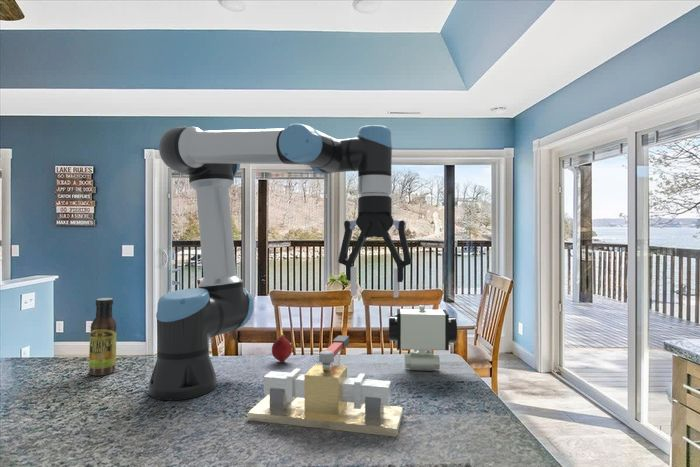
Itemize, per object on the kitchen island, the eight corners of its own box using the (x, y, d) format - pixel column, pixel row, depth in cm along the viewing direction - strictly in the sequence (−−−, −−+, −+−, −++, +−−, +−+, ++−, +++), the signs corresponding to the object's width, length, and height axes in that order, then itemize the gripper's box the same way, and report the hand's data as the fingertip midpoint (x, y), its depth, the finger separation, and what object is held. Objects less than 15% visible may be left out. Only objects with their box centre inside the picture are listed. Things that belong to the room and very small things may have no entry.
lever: (331, 364, 84) (331, 355, 84) (317, 362, 85) (317, 354, 85) (349, 343, 100) (350, 335, 100) (337, 342, 100) (337, 335, 100)
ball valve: (452, 365, 120) (452, 302, 119) (457, 375, 111) (457, 308, 111) (389, 363, 121) (389, 301, 121) (388, 373, 113) (388, 307, 113)
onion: (282, 366, 118) (282, 338, 118) (267, 363, 122) (267, 335, 122) (295, 361, 123) (295, 333, 123) (281, 358, 126) (281, 331, 126)
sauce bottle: (85, 377, 109) (85, 301, 109) (93, 370, 115) (93, 297, 115) (112, 375, 111) (112, 300, 111) (119, 368, 117) (119, 296, 117)
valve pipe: (247, 420, 85) (247, 364, 85) (268, 400, 94) (268, 350, 94) (396, 436, 78) (396, 376, 78) (402, 414, 87) (402, 360, 87)
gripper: (424, 196, 96) (424, 295, 96) (332, 198, 101) (332, 291, 101) (422, 193, 89) (422, 300, 89) (323, 195, 94) (323, 296, 94)
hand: (374, 295), depth 95 cm, fingers open, 9 cm apart
